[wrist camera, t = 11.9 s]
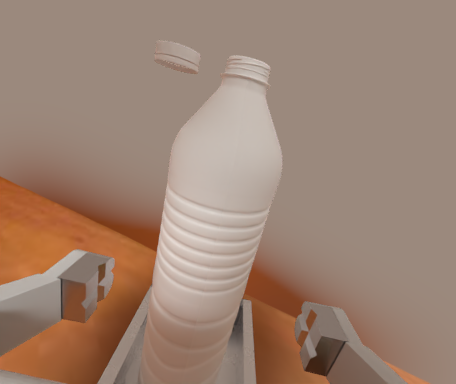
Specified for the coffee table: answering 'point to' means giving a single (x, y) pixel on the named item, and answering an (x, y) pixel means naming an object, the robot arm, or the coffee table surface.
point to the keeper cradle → (231, 364)
